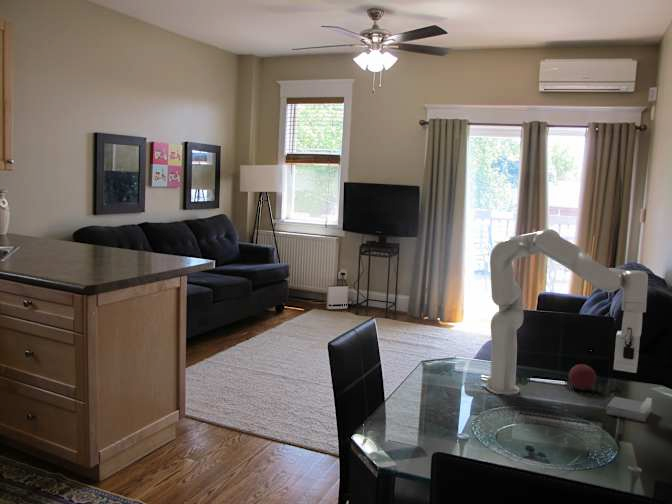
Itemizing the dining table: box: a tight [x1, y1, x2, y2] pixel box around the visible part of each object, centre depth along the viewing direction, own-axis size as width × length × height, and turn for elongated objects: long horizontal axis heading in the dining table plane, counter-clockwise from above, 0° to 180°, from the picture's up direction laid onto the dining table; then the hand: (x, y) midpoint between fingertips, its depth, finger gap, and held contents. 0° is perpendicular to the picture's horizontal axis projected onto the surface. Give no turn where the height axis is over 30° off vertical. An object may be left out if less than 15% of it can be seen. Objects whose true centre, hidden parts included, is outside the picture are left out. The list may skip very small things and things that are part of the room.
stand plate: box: [605, 396, 652, 423], centre depth 208 cm, size 12×12×5 cm
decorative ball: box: [568, 363, 597, 391], centre depth 233 cm, size 10×10×10 cm
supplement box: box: [613, 330, 641, 374], centre depth 207 cm, size 7×7×13 cm
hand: (630, 355), depth 207 cm, fingers closed on supplement box, 7 cm apart
